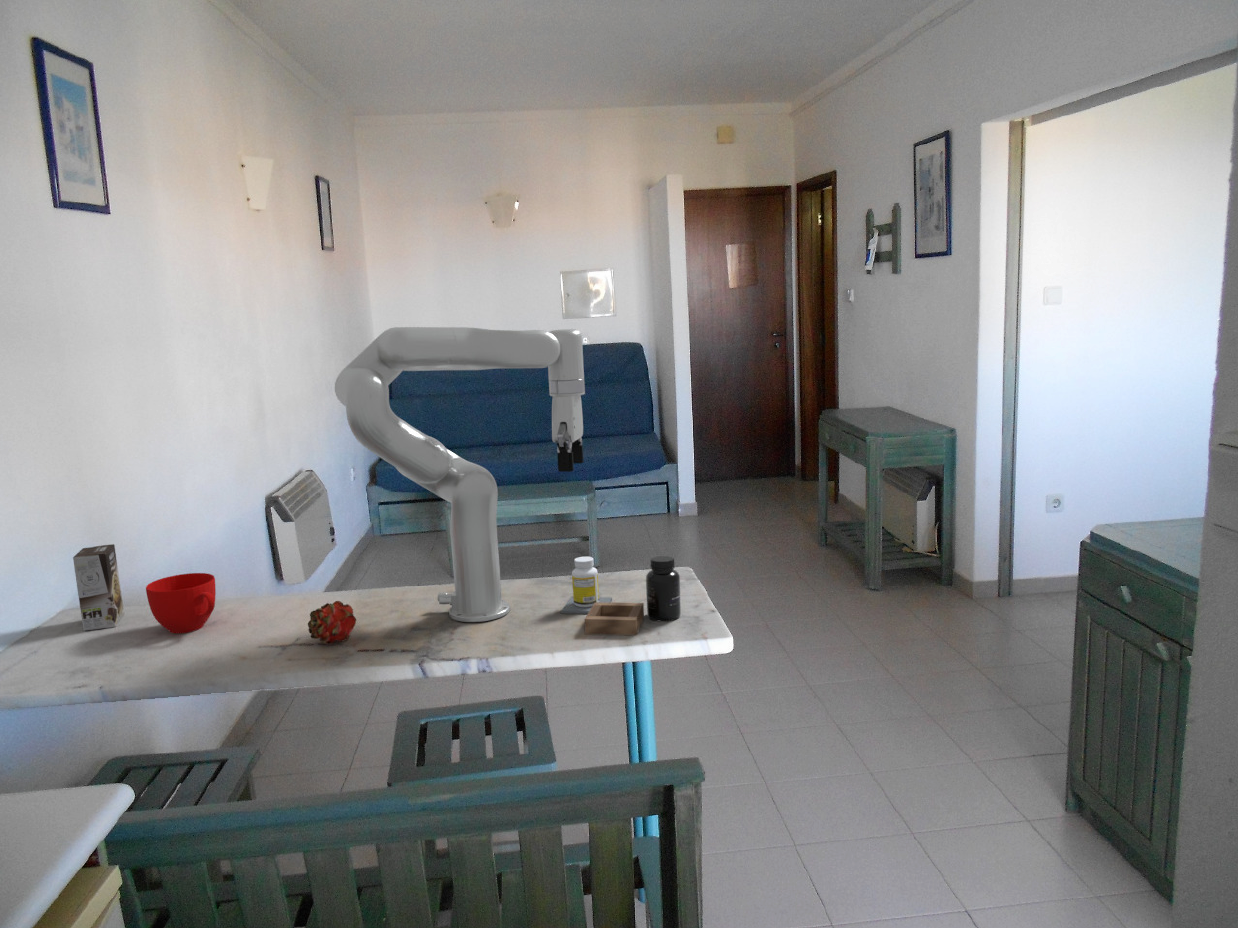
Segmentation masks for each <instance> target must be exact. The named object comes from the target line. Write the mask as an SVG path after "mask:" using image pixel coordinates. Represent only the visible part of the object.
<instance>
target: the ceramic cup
mask: <svg viewBox="0 0 1238 928" xmlns="http://www.w3.org/2000/svg"><path fill="white" fill-rule="evenodd" d="M145 591H146V597H147V601H148V606H149V608H150V609H149V610H150V611H151V613H152V615H153V617H154V619H155V620H156V621H157V623H158V624H159V625H161V627H162V628H164V629H166V630H167V631H168V632H169V633H171V634H186V633H191V632H194V631H197V630H200V629H202V628H203V627H204V626H205V624H206V623H207V621H208V620H209V618H210V616H211V615H212V613H213V612H214V610H215V605H216V594H217V593H216V578H215V576H214V574H210V573H206V572H191V573H183V574H176V575H170V576H167V577H163V578H160V579H157V580H154V581H152V582H150V583H148V584H147V585H146V586H145Z"/></svg>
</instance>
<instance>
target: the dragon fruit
mask: <svg viewBox="0 0 1238 928" xmlns="http://www.w3.org/2000/svg"><path fill="white" fill-rule="evenodd" d="M309 617H310V618H309V619H310V620H308V623H307V626H308V629H307V630H308V632H309V634H311V635H310V638H311V639H314V640H319V641H320V643H322V644H326V645H327V646H331V645H332V644H334V642H335V641H338V642H347V641H348V640H349V637H351V636H350V635H351V633H352V631H353V630H354V628H355V626H356V624H357V618H356V617H355V616H354V609H353V608H352V606H351V605H350V604H344V603H343V602H342V601H340V600H335V601H334V602H333V603H329V602H326V603H325V604H324V605H321V606H320V607H319V608H316V609H315V610H312V611H311V612H309Z"/></svg>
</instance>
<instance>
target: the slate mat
mask: <svg viewBox="0 0 1238 928" xmlns="http://www.w3.org/2000/svg"><path fill="white" fill-rule="evenodd" d="M612 601H613V597H609V596H607V597H605V596H603V597H602V596H601V597H600V596H599V602H602V603H612ZM591 608H592V607H578V606H576V605H575V604H574V598H573V596H570V597H569V598H568V601H566V604H565V605H564V606H563V608H561V609H560V610H561V614H565V615H566V614H569V615H571V614H572V615H573V614H575V615H576V614H577V615H578V614H579V615H586V614H588V613H589V611H590V609H591Z"/></svg>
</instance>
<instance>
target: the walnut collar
mask: <svg viewBox="0 0 1238 928" xmlns="http://www.w3.org/2000/svg"><path fill="white" fill-rule="evenodd" d="M644 606H645V604H644V603H643V602H611V603H602V602H595V603H594V605H593V606H592V608H591V609H590V611H589V613H588V614H587V615H586V616H585V617H584V633H585V635H611V636H612V635H614V636H615V635H616V636H617V635H619V636H620V635H621V636H637V634H638V632H639V630H640V627H641V625H642V623H643V620H644V618H645V607H644Z"/></svg>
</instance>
